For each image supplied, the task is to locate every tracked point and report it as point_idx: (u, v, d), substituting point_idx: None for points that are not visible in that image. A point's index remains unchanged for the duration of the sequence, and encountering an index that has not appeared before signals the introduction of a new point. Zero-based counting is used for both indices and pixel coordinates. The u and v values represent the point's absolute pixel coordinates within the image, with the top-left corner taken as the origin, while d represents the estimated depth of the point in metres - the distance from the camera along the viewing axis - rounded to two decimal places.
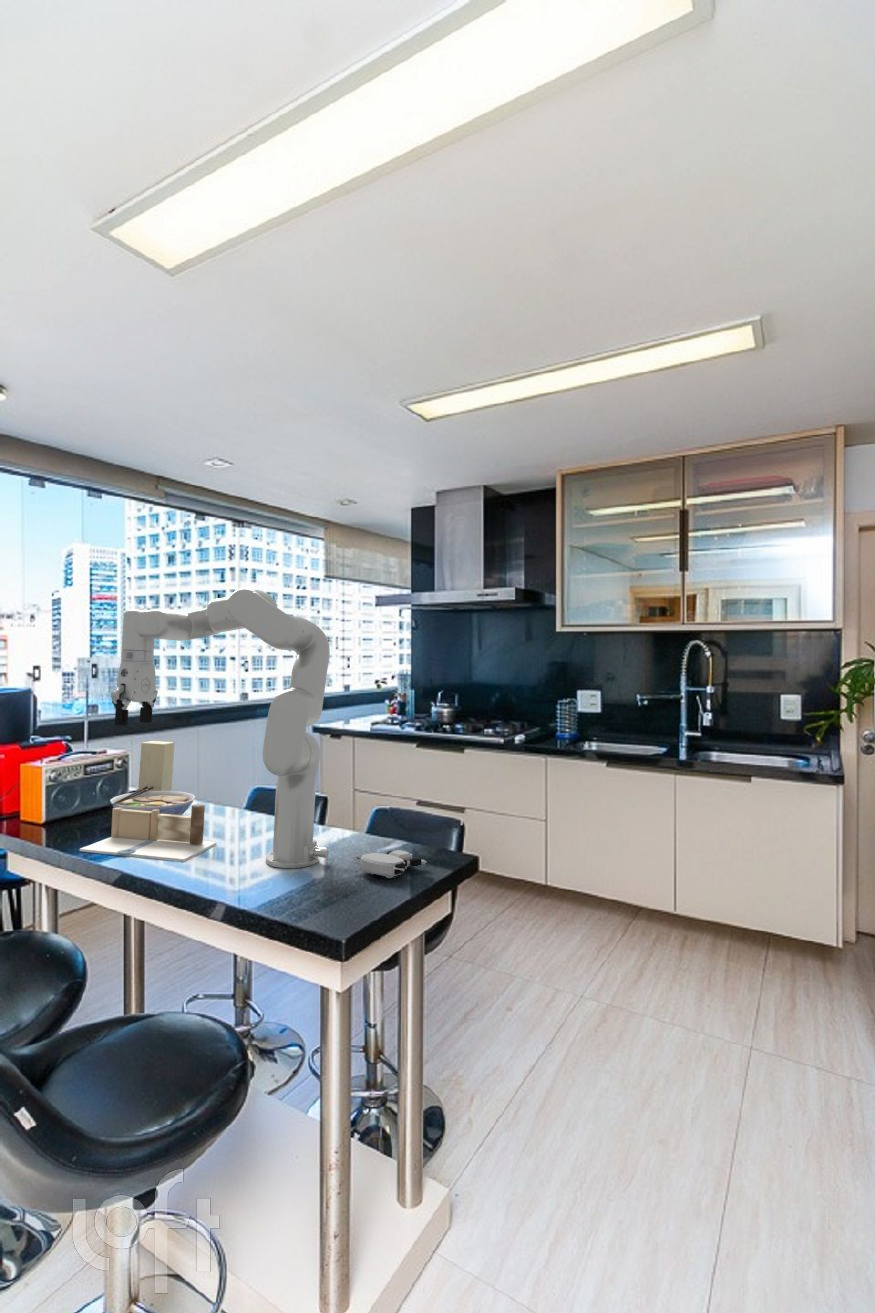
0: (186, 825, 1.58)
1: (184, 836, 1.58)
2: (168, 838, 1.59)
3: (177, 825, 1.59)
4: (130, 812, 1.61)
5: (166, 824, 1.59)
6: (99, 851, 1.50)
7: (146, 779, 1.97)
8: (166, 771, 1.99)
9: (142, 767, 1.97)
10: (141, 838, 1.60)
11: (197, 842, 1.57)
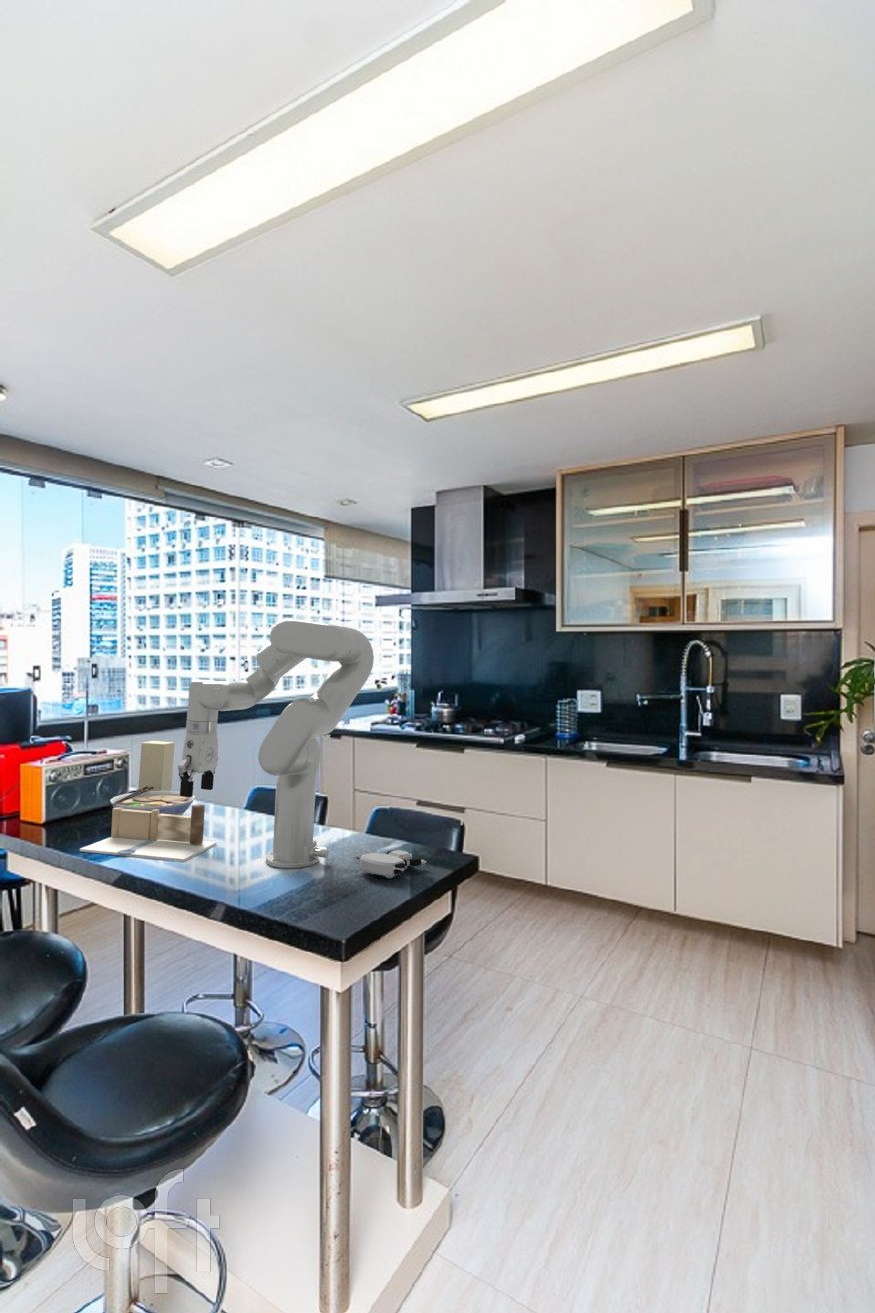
0: (186, 825, 1.58)
1: (184, 836, 1.58)
2: (168, 838, 1.59)
3: (177, 825, 1.59)
4: (130, 812, 1.61)
5: (166, 824, 1.59)
6: (99, 851, 1.50)
7: (146, 779, 1.97)
8: (166, 771, 1.99)
9: (142, 767, 1.97)
10: (141, 838, 1.60)
11: (197, 842, 1.57)
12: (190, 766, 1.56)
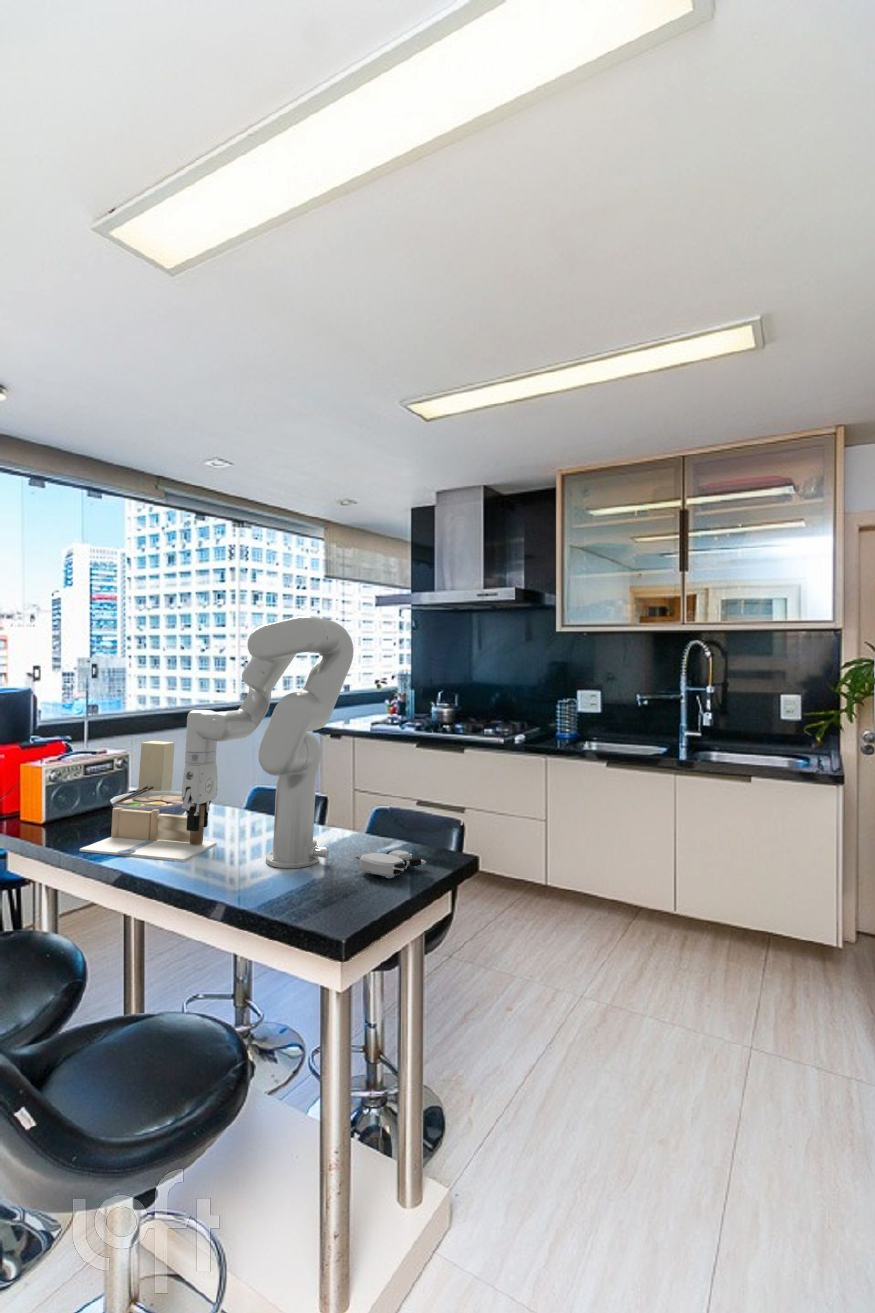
0: (186, 825, 1.58)
1: (184, 836, 1.58)
2: (168, 838, 1.59)
3: (177, 825, 1.59)
4: (130, 812, 1.61)
5: (166, 824, 1.59)
6: (99, 851, 1.50)
7: (146, 779, 1.97)
8: (166, 771, 1.99)
9: (142, 767, 1.97)
10: (141, 838, 1.60)
11: (197, 842, 1.57)
12: None
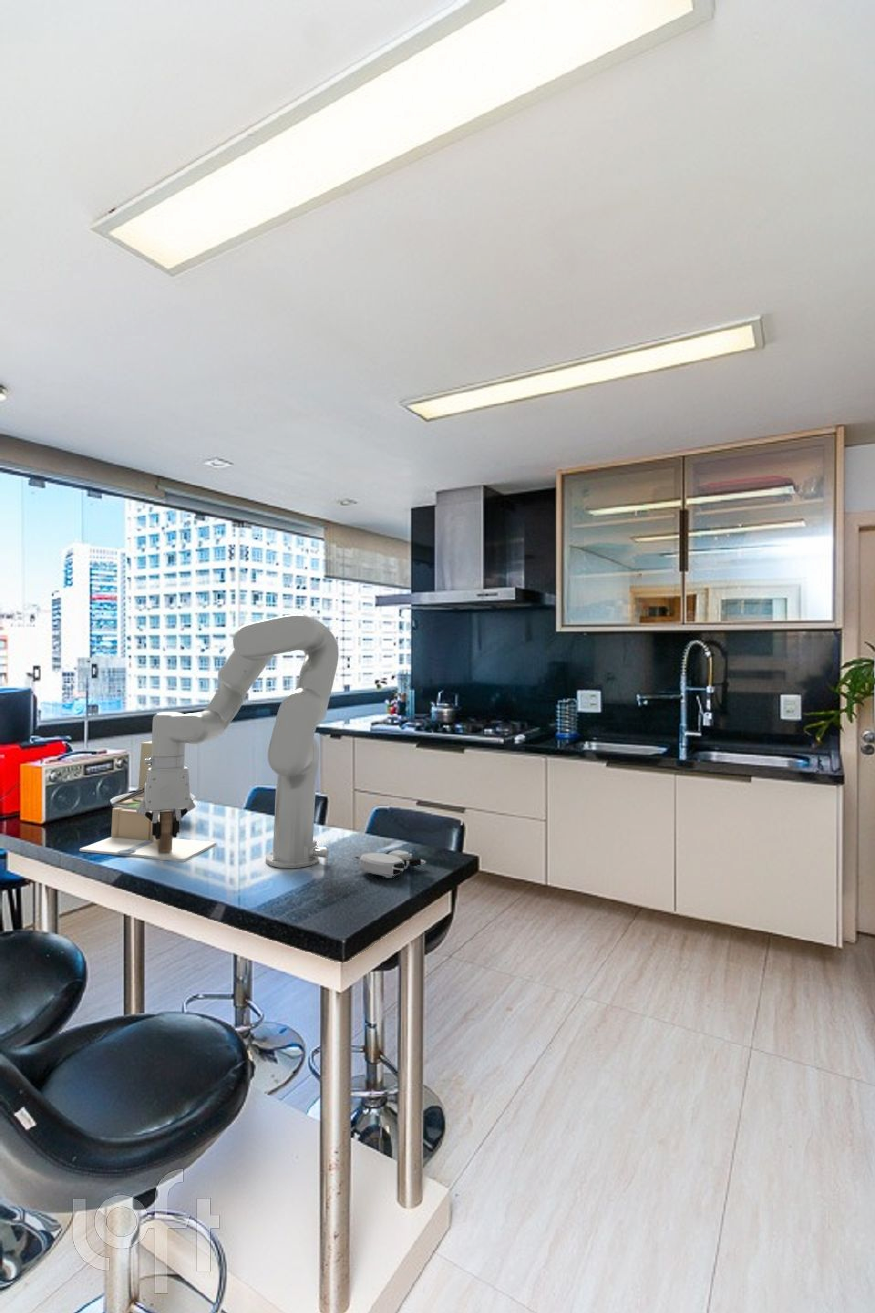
0: None
1: None
2: (155, 840, 1.57)
3: None
4: (130, 812, 1.61)
5: None
6: (99, 851, 1.50)
7: None
8: None
9: (142, 767, 1.97)
10: (141, 838, 1.60)
11: (160, 850, 1.49)
12: None
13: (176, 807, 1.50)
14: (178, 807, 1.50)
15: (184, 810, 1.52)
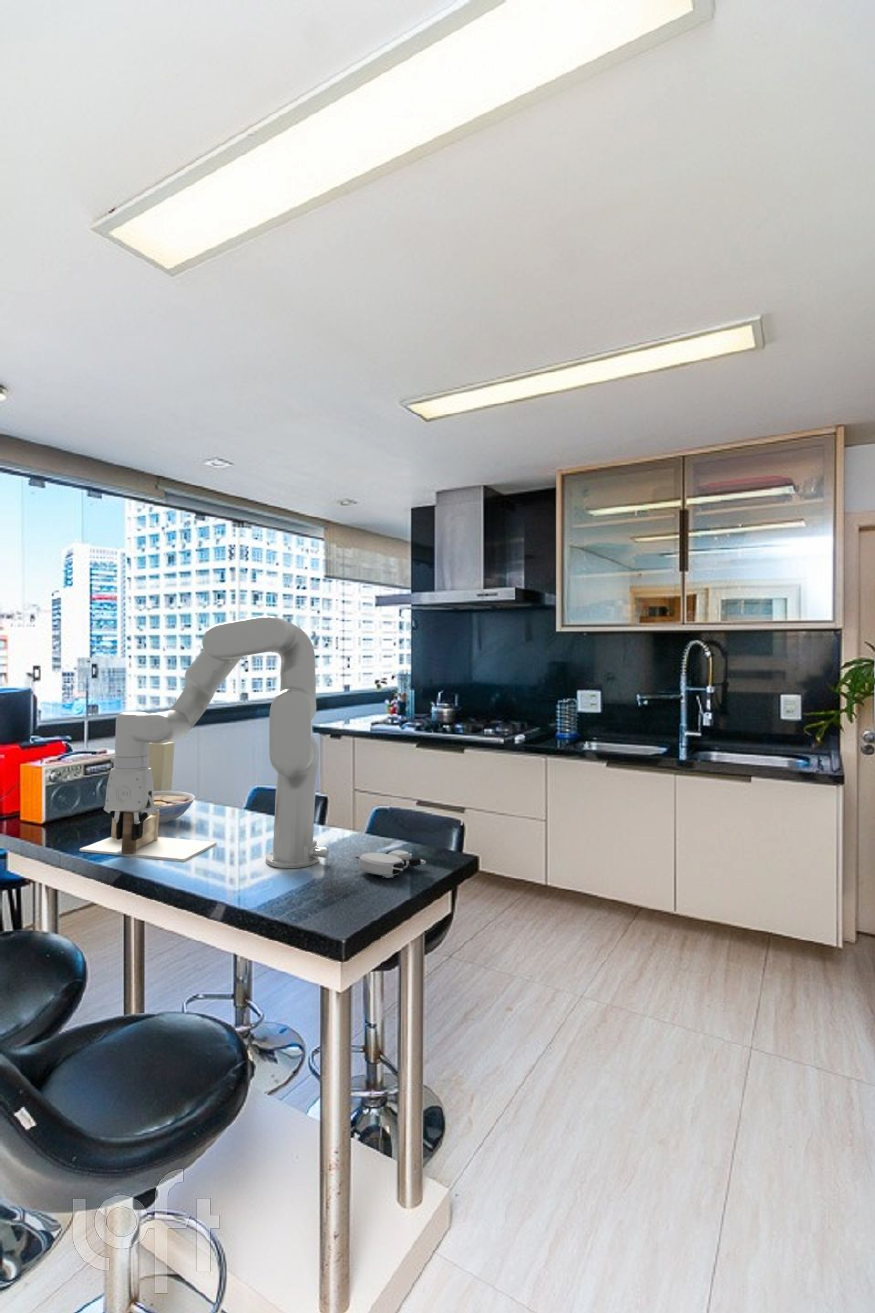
0: None
1: None
2: None
3: None
4: None
5: None
6: (99, 851, 1.50)
7: None
8: (166, 771, 1.99)
9: None
10: None
11: (121, 851, 1.48)
12: None
13: (130, 809, 1.46)
14: (132, 810, 1.46)
15: (143, 814, 1.47)
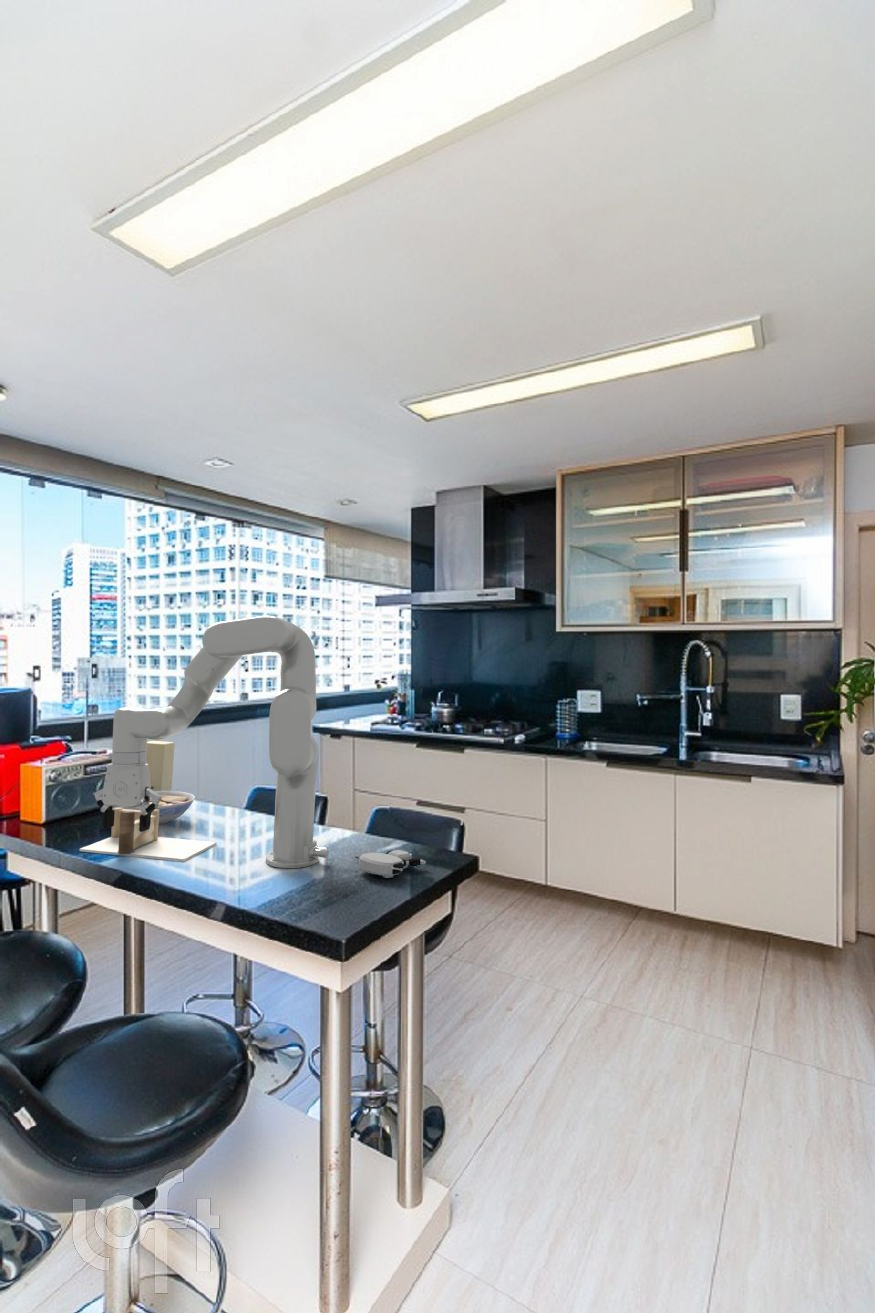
0: None
1: None
2: None
3: None
4: None
5: None
6: (99, 851, 1.50)
7: None
8: (166, 771, 1.99)
9: None
10: None
11: (118, 850, 1.48)
12: None
13: (126, 805, 1.46)
14: (128, 805, 1.46)
15: (151, 805, 1.47)
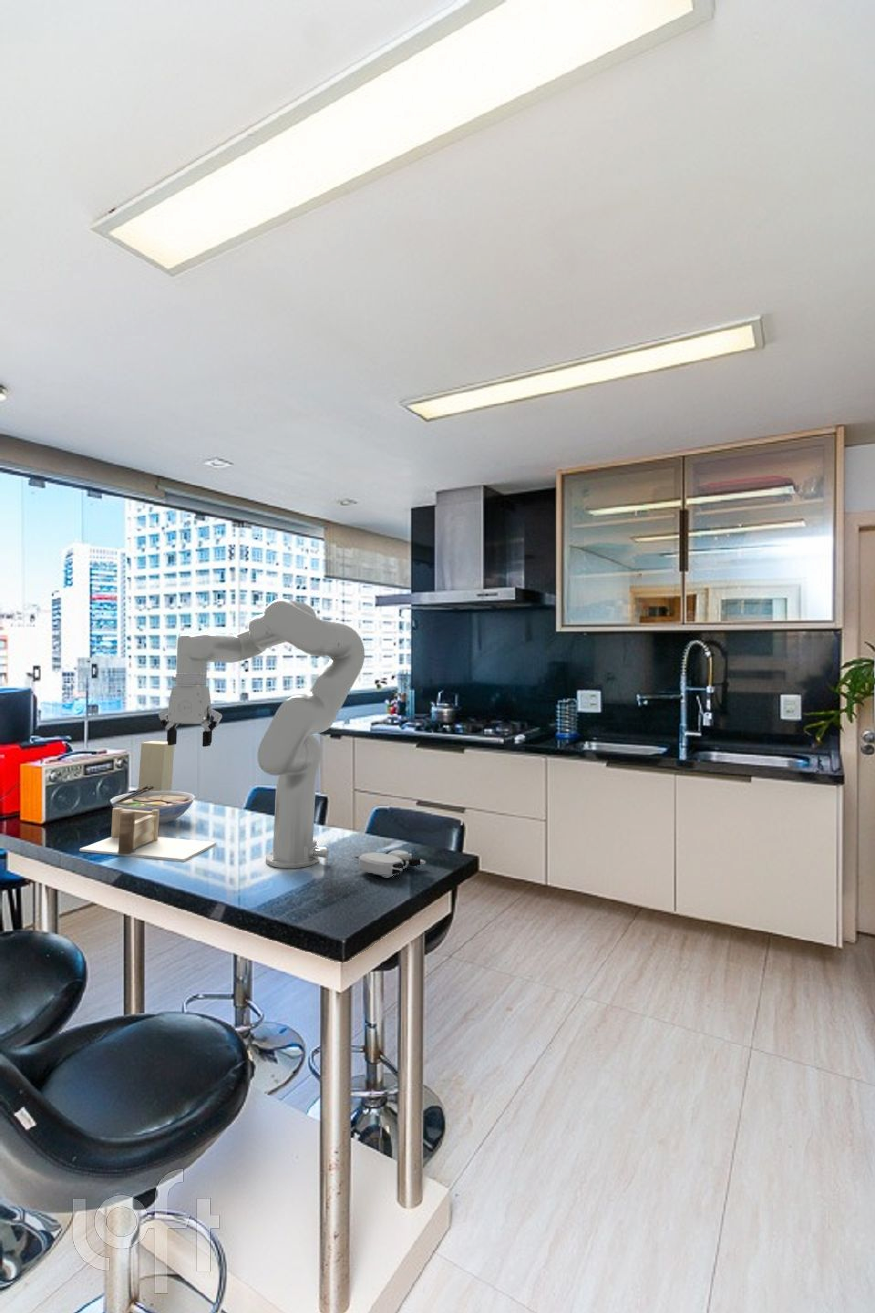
0: None
1: None
2: None
3: None
4: None
5: None
6: (99, 851, 1.50)
7: (146, 779, 1.97)
8: (166, 771, 1.99)
9: (142, 767, 1.97)
10: None
11: (118, 850, 1.48)
12: None
13: (191, 722, 1.59)
14: (193, 722, 1.59)
15: (213, 722, 1.60)
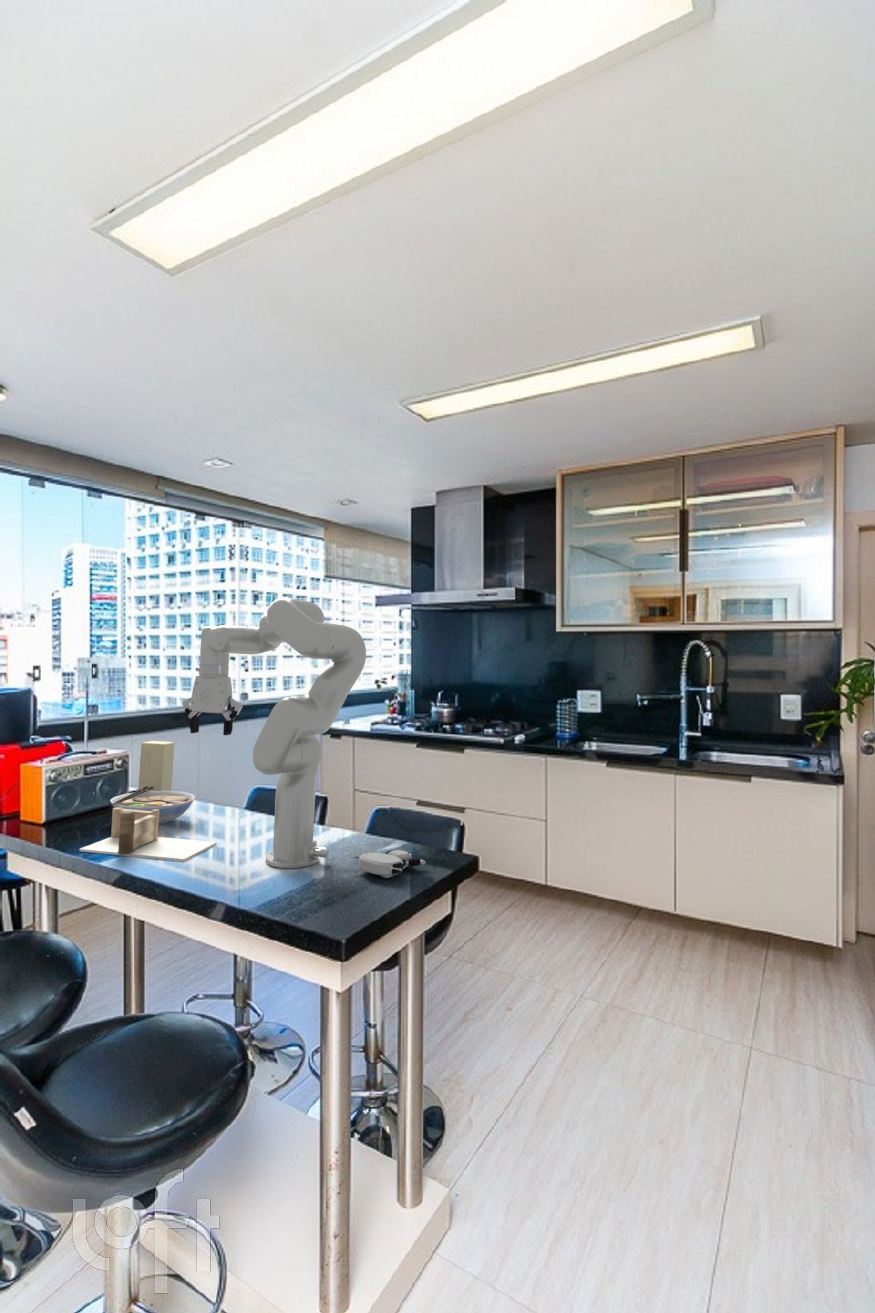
0: None
1: None
2: None
3: None
4: None
5: None
6: (99, 851, 1.50)
7: (146, 779, 1.97)
8: (166, 771, 1.99)
9: (142, 767, 1.97)
10: None
11: (118, 850, 1.48)
12: None
13: (213, 711, 1.65)
14: (214, 711, 1.65)
15: (233, 712, 1.66)
